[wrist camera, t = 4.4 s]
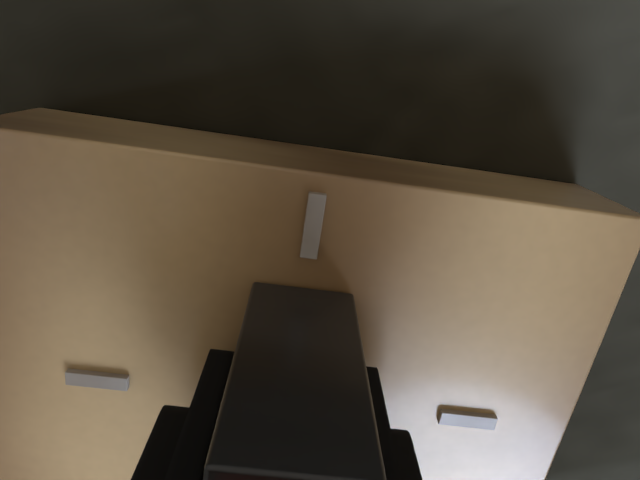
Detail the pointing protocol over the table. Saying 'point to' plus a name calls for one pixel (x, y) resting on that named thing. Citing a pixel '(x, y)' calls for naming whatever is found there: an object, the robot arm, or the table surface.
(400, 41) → the table surface
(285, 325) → the dimmer knob
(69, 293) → the panel
